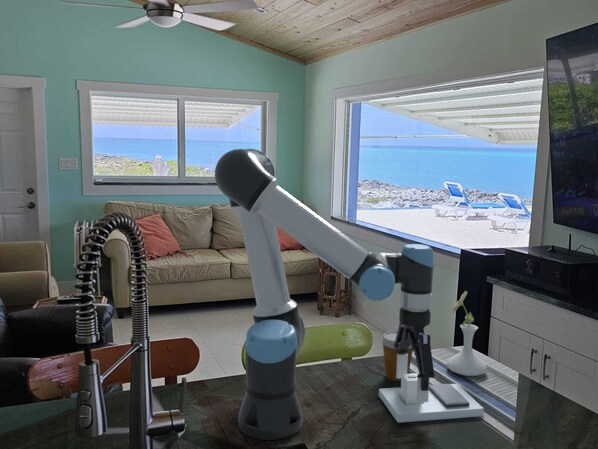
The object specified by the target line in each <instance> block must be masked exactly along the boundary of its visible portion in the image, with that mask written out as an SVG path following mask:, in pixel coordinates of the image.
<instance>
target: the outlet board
mask: <svg viewBox="0 0 598 449" xmlns="http://www.w3.org/2000/svg"><path fill="white" fill-rule="evenodd" d="M449 384H450V385H451V386H452V387H453V388H454V389H456V390H457V391H458V392H459V393H460V394H461V395H462V396H463V397H464V398H465V399H466V400H467V401H468V402H469V406H467V407H453V408H446V407H445V406H444V405H443V404H442V403H441V402H440V401H439V399H438V398H437V397H436V396H435V395H434V394H433V393H432V392H431V391H430V390H429V395H428V402H422V403H421V404H413V405H404V403H403V402H402V401H401V399H400V398H401V386H400V387H389V388H388V387H387V388H379V389H378V397H379V399H380V400H381V402H383V403H384V404H383V405H384V406H385V408H387V409H388V411H389V412H390V414H391V415H392V417H393V419H395V421H396V422H397V423H409V422H422V421H424V422H425V421H435V420H447V419H448V420H449V419H450V420H452V419H463V418H476V417H483V416H484V409H485V408H484V407H483V406H482V404H480V403H478V402H477V401H476V400H475V399H474V398H473V397H472V396H471V395H470V394H469V393H468V392H467V391H466V390H465V389H464V388H462V387H461V386H460V385H459V384H458V383H449Z"/></svg>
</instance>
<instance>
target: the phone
mask: <svg viewBox="0 0 598 449" xmlns="http://www.w3.org/2000/svg"><path fill="white" fill-rule="evenodd" d="M450 384H451V383H441V384H439V383H438V384H437V383H436V384H429V390H430V391H431V392H432V393H433V394H434V395H435V396H436V397H437V398H438V399H439V401H440V402H441V403H442V404H443V405H444V406H445V407H446V408H453V407H467V406H469V402H468V401H467V400H466V399H465V398H464V397H463V396H462V395H461V394H460V393H459V392H458V391H457V390H456V389H454V388H453V387H452V386H451V385H450Z"/></svg>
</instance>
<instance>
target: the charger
mask: <svg viewBox="0 0 598 449" xmlns="http://www.w3.org/2000/svg"><path fill="white" fill-rule="evenodd" d="M417 375H419V373H409V374H402V377H401V381H400V387H401V398H400V399H401V401H402V402H403V403H404V405H413V404H421V403H417V402H416V395H417Z"/></svg>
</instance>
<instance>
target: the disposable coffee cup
mask: <svg viewBox="0 0 598 449" xmlns="http://www.w3.org/2000/svg"><path fill="white" fill-rule="evenodd" d="M397 332H398V330H397V331H386V332H385V333H383V335H382V337H381V339H380V340H381V343H382V349H383V361H384V370H385V373H384V374H385V378H387V379H388V380H391V381H393V382H401V379H397V378H396V370H397V354H398V353H397V352H396V349H397V348H394V343H395V339H396V336H397ZM408 350H409V351H408V353H405V354H408V366H407V374H410V373H409V372H410V367H411V363H412V362H411V361H412V356H413V352H414V350H412V348H411V345H410V347H409V348H408Z"/></svg>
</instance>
